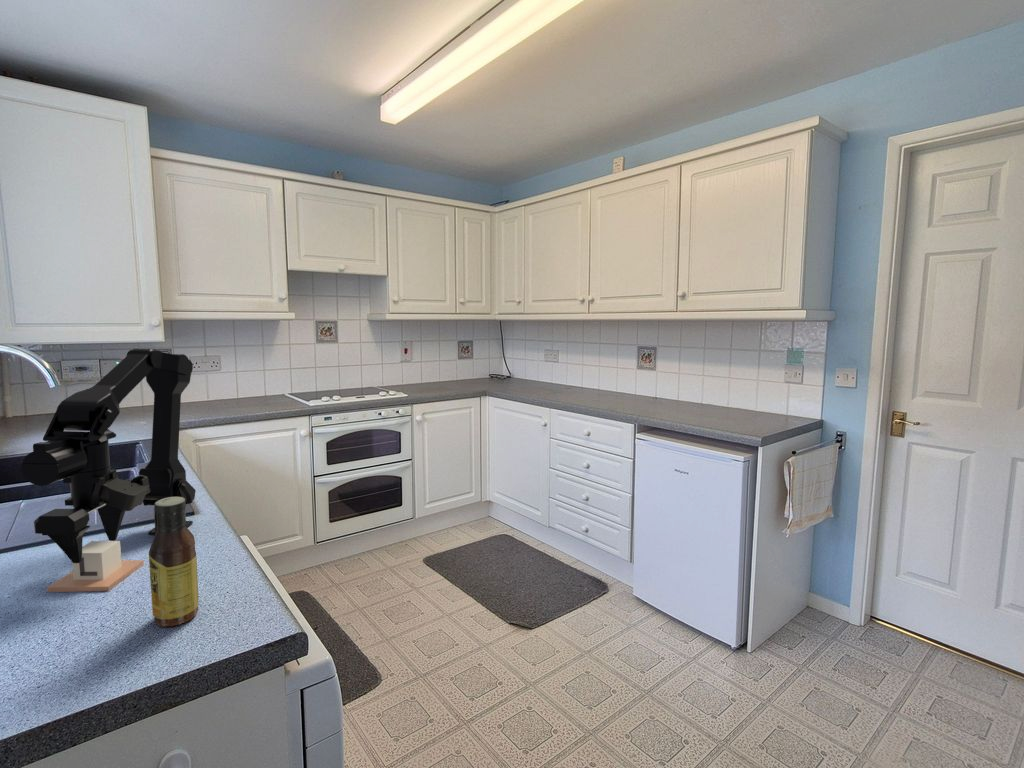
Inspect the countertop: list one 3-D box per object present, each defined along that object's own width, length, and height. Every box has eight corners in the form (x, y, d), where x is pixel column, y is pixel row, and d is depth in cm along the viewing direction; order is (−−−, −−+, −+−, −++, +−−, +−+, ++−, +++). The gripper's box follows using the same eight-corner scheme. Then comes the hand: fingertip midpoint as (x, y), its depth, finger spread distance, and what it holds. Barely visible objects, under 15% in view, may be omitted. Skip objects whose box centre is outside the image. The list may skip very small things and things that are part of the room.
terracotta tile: (88, 564, 100) (88, 560, 100) (143, 564, 101) (143, 560, 101) (47, 591, 90) (46, 587, 90) (108, 590, 91) (108, 586, 91)
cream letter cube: (93, 566, 98) (91, 541, 97) (121, 566, 98) (120, 541, 98) (73, 580, 93) (70, 553, 92) (102, 579, 93) (101, 553, 93)
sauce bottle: (158, 611, 85) (151, 494, 83) (201, 604, 88) (196, 490, 85) (148, 634, 79) (140, 509, 77) (195, 625, 82) (189, 504, 79)
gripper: (101, 484, 84) (107, 575, 86) (167, 454, 103) (171, 530, 105) (27, 484, 83) (35, 576, 85) (107, 454, 102) (112, 530, 104)
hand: (95, 551), depth 95 cm, fingers open, 9 cm apart
